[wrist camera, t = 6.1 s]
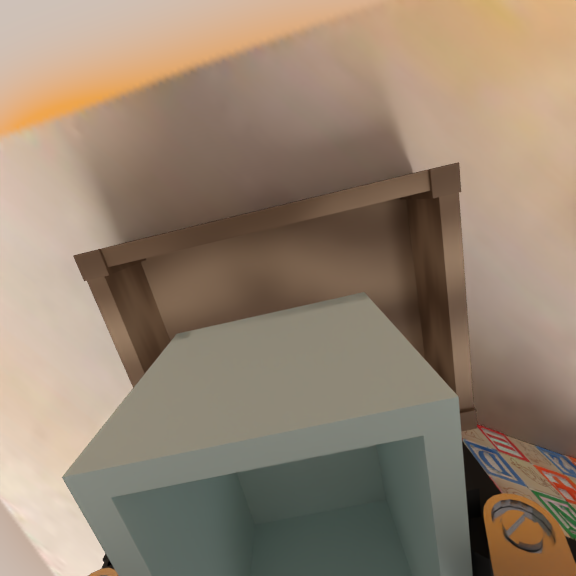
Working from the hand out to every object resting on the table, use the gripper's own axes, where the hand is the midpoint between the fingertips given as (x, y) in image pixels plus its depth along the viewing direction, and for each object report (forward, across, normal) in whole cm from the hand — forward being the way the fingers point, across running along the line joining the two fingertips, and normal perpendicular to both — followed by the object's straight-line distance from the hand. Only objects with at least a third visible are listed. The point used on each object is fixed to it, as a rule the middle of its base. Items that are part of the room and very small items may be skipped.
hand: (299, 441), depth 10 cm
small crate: (+1, 0, 0) cm, 1 cm away
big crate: (+12, 0, 0) cm, 12 cm away
